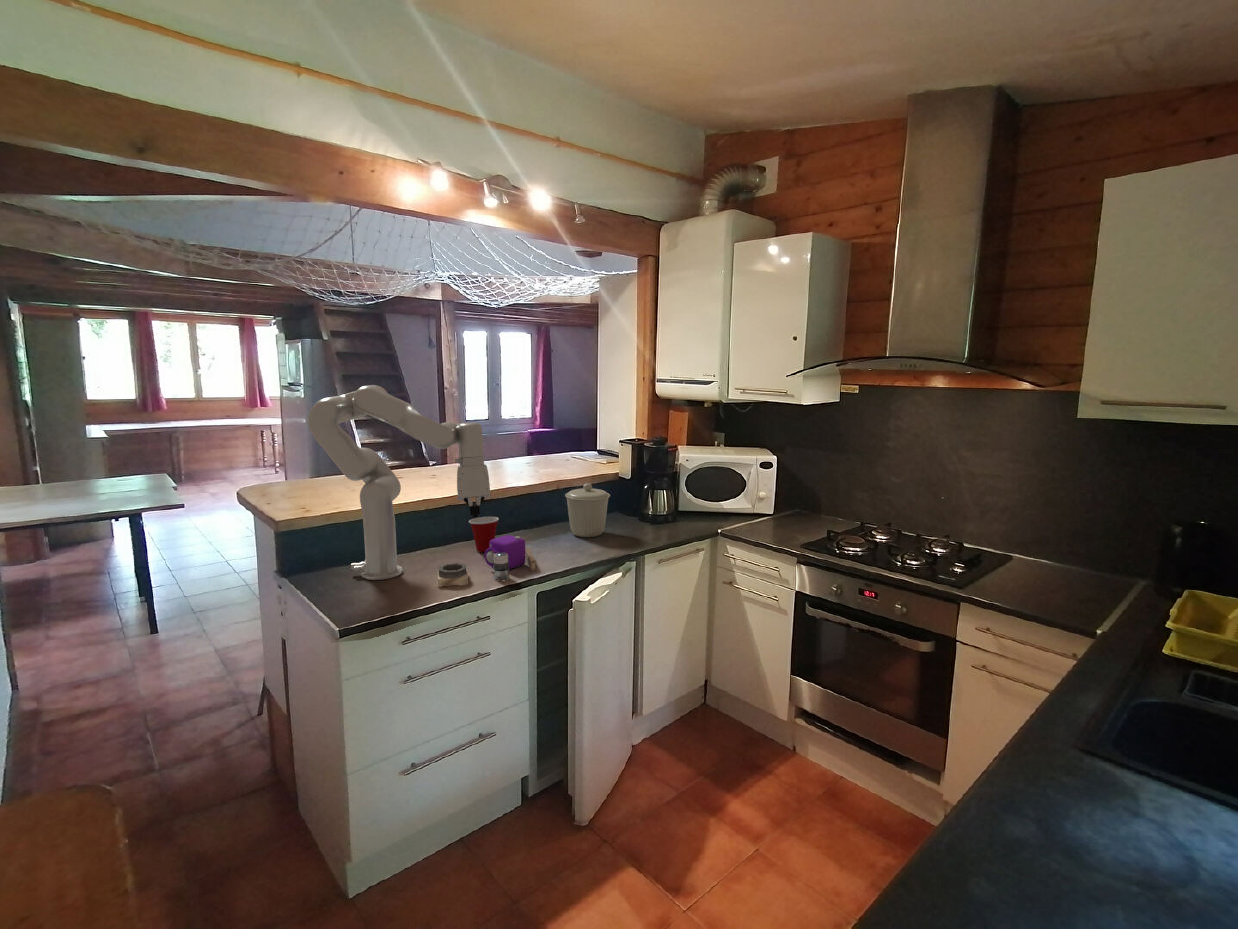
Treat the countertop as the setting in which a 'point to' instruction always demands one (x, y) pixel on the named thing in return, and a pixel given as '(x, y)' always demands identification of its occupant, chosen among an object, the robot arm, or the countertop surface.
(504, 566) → the lens
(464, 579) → the mount
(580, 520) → the canister
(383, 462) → the robot arm
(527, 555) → the rail
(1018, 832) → the countertop surface
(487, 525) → the plastic cup
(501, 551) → the toy camera
